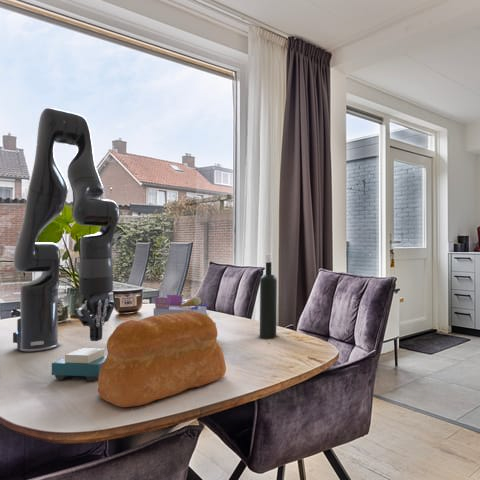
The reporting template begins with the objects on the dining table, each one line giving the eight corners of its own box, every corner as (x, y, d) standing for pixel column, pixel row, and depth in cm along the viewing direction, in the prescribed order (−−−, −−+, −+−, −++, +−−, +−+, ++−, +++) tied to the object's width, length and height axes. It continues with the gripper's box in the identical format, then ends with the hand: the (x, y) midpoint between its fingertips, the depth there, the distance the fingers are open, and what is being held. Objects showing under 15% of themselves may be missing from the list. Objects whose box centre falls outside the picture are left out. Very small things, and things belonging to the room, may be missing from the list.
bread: (232, 378, 103) (232, 310, 103) (123, 415, 82) (124, 329, 82) (196, 366, 113) (196, 304, 112) (90, 396, 91) (90, 319, 91)
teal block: (72, 370, 108) (51, 380, 101) (73, 347, 108) (51, 355, 101) (116, 372, 107) (98, 381, 100) (116, 348, 107) (98, 356, 100)
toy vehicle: (202, 345, 134) (203, 299, 133) (150, 341, 138) (150, 297, 137) (218, 338, 143) (218, 295, 142) (168, 334, 147) (168, 293, 146)
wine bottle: (277, 334, 149) (278, 252, 148) (274, 338, 143) (275, 253, 143) (261, 334, 149) (262, 252, 148) (258, 338, 143) (258, 253, 142)
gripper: (99, 272, 114) (99, 334, 114) (63, 277, 101) (62, 346, 101) (125, 272, 114) (125, 334, 114) (92, 277, 101) (92, 347, 101)
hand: (96, 340), depth 108 cm, fingers closed
